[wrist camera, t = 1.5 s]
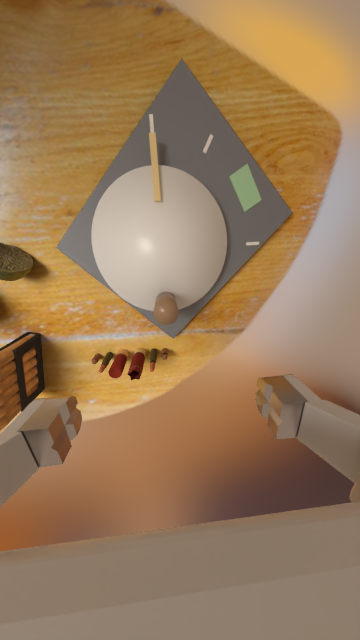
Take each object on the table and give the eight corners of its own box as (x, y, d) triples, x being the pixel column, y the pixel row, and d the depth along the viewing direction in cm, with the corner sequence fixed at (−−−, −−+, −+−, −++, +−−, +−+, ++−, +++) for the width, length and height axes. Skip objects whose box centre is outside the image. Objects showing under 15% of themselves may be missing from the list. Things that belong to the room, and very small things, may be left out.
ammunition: (97, 361, 30) (80, 387, 24) (94, 349, 29) (76, 373, 23) (167, 354, 31) (168, 378, 25) (166, 343, 30) (167, 365, 24)
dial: (222, 305, 27) (239, 320, 21) (108, 314, 26) (90, 331, 20) (228, 140, 20) (255, 90, 14) (74, 142, 19) (32, 89, 13)
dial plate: (61, 248, 24) (55, 247, 23) (180, 70, 19) (181, 57, 18) (173, 335, 30) (173, 338, 28) (286, 214, 25) (293, 212, 24)
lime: (-4, 242, 23) (-46, 238, 18) (36, 245, 24) (5, 242, 19) (5, 277, 25) (-32, 282, 20) (43, 279, 25) (15, 284, 20)
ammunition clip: (27, 331, 27) (-69, 384, 16) (40, 333, 28) (-45, 386, 16) (33, 387, 31) (-43, 463, 19) (44, 388, 31) (-24, 464, 20)
